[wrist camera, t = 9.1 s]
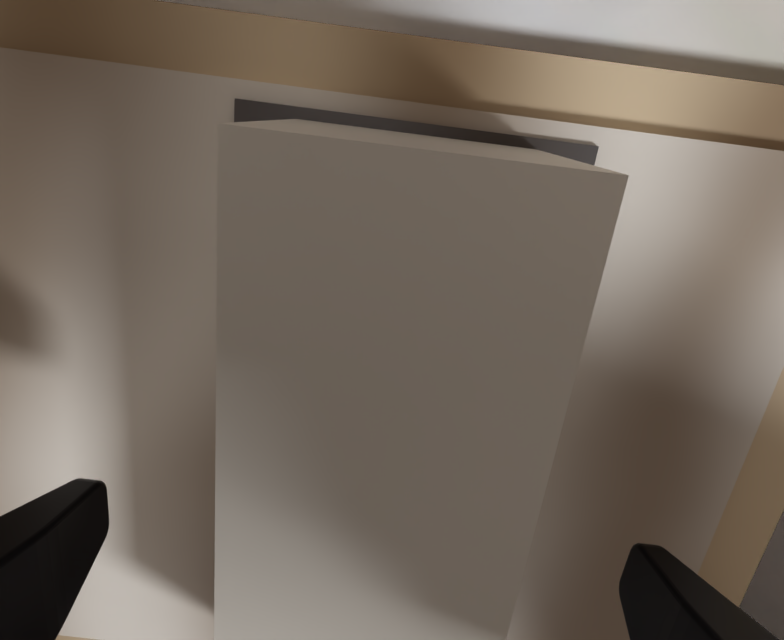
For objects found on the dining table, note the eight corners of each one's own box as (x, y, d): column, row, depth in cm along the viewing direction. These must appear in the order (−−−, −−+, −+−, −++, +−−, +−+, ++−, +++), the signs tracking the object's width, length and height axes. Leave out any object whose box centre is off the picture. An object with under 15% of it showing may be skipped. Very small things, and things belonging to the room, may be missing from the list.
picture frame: (935, 110, 10) (991, 109, 9) (675, 697, 15) (694, 736, 14) (-224, -47, 9) (-295, -64, 8) (-70, 616, 15) (-103, 650, 14)
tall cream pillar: (537, 149, 9) (629, 174, 5) (431, 664, 13) (442, 880, 10) (295, 119, 9) (217, 123, 5) (267, 646, 13) (212, 856, 10)
